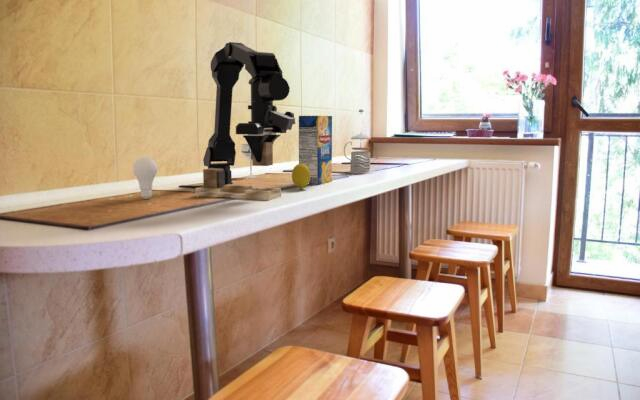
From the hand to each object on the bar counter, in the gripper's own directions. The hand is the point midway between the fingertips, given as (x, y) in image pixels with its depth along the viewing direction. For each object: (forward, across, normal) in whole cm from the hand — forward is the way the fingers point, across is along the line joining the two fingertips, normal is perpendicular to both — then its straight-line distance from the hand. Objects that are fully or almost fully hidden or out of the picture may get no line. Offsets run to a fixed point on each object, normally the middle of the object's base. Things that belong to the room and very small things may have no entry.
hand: (262, 161), depth 145 cm
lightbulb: (+10, -13, +27) cm, 32 cm away
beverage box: (+10, +39, 0) cm, 40 cm away
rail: (+10, 0, +7) cm, 12 cm away
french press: (+10, +80, -4) cm, 81 cm away
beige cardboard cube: (+1, 0, 0) cm, 1 cm away
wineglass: (+10, +47, +28) cm, 55 cm away
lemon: (+10, +21, -3) cm, 23 cm away
